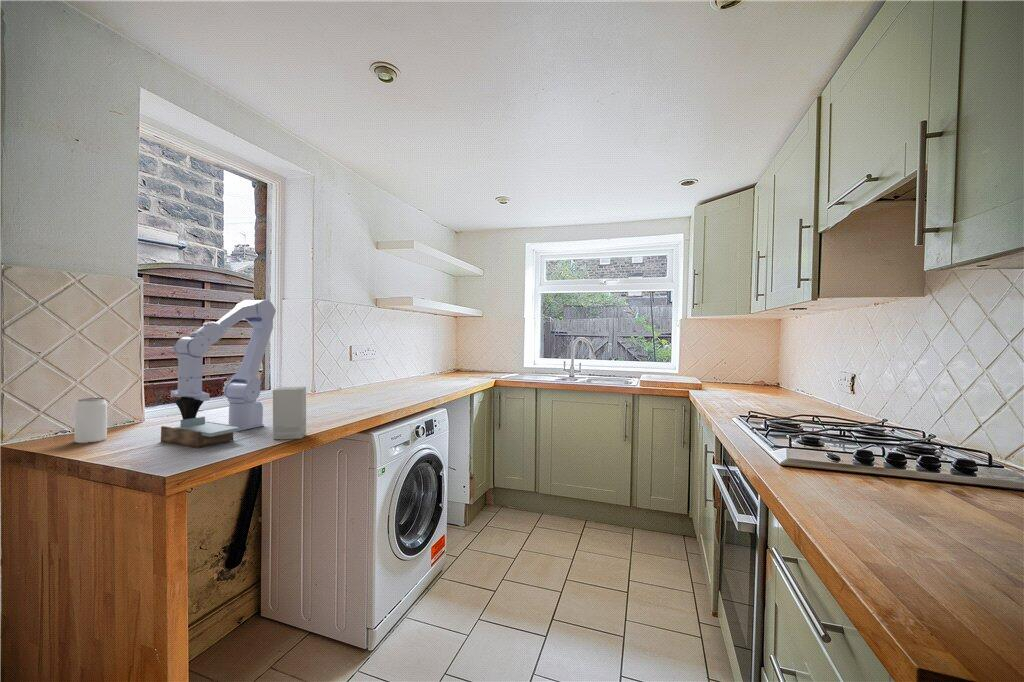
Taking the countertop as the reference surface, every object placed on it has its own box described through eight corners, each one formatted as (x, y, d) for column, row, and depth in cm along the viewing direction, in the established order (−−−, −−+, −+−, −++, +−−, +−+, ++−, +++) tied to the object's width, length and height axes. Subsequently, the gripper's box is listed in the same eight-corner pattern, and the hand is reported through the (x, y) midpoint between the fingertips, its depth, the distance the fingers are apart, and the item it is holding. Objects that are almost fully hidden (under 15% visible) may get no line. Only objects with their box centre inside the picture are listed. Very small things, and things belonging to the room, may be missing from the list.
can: (68, 442, 115) (69, 399, 115) (97, 437, 121) (98, 396, 121) (84, 444, 113) (85, 401, 113) (112, 439, 120) (113, 398, 120)
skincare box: (306, 434, 133) (307, 386, 132) (301, 439, 126) (302, 389, 126) (277, 435, 131) (279, 386, 130) (270, 440, 124) (272, 389, 124)
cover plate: (175, 430, 118) (175, 420, 118) (205, 425, 126) (205, 415, 126) (210, 436, 113) (210, 425, 113) (239, 430, 121) (239, 420, 121)
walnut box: (160, 441, 119) (161, 426, 119) (197, 434, 128) (197, 420, 128) (197, 448, 113) (198, 432, 113) (233, 440, 123) (233, 425, 123)
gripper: (159, 376, 121) (158, 422, 121) (191, 380, 116) (190, 428, 116) (185, 375, 128) (184, 418, 128) (217, 378, 123) (216, 423, 123)
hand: (189, 422), depth 122 cm, fingers closed
